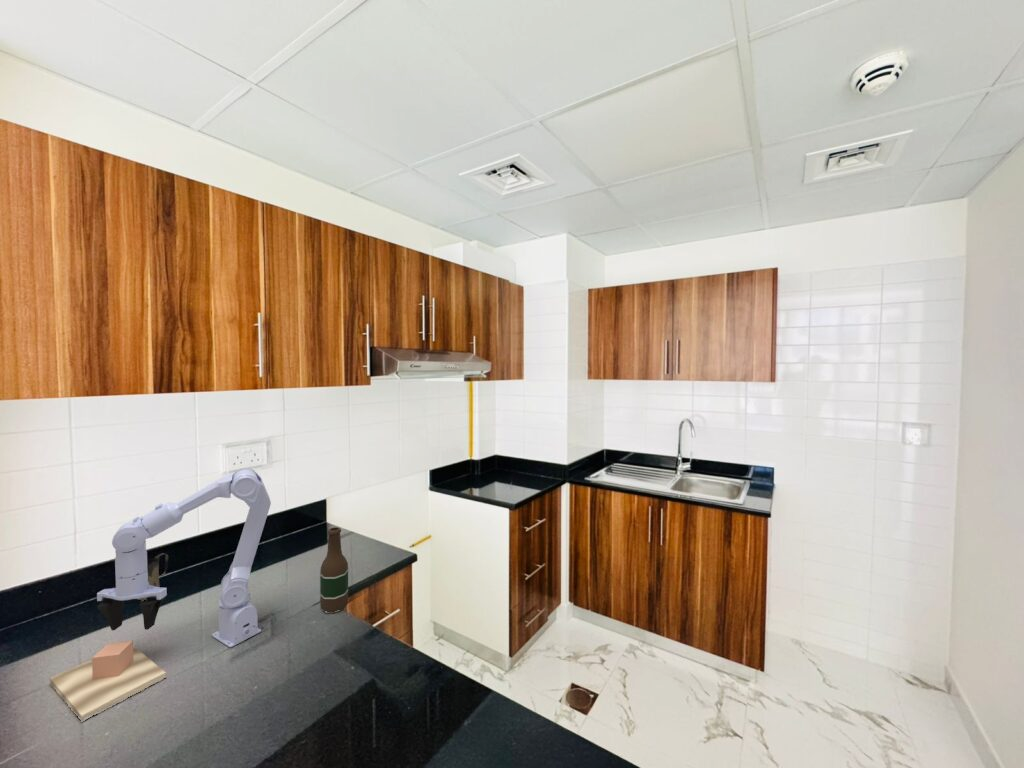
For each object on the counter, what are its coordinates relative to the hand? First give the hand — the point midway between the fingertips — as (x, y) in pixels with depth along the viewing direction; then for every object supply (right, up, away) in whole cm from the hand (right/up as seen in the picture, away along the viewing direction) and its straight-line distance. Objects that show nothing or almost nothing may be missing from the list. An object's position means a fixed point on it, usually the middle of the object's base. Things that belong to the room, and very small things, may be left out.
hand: (133, 627), depth 102 cm
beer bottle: (+38, -9, +25) cm, 47 cm away
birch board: (0, -9, -6) cm, 11 cm away
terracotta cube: (0, -7, -5) cm, 9 cm away
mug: (-21, -7, +30) cm, 37 cm away
